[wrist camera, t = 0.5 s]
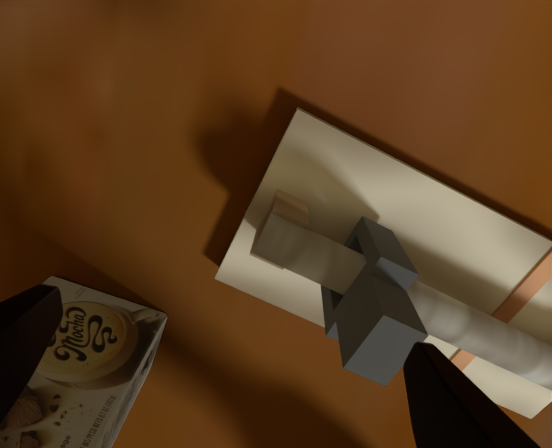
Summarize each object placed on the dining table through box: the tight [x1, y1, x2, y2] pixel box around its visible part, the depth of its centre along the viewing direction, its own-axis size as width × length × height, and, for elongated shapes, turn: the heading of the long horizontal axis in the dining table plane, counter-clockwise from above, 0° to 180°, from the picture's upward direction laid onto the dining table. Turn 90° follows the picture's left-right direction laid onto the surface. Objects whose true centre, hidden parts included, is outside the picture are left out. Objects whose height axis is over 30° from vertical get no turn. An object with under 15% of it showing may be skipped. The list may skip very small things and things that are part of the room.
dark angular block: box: [321, 216, 429, 386], centre depth 18 cm, size 5×2×8 cm, turn 154°
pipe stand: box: [215, 107, 552, 419], centre depth 21 cm, size 12×26×6 cm, turn 64°
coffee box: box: [0, 276, 167, 448], centre depth 20 cm, size 9×6×16 cm
